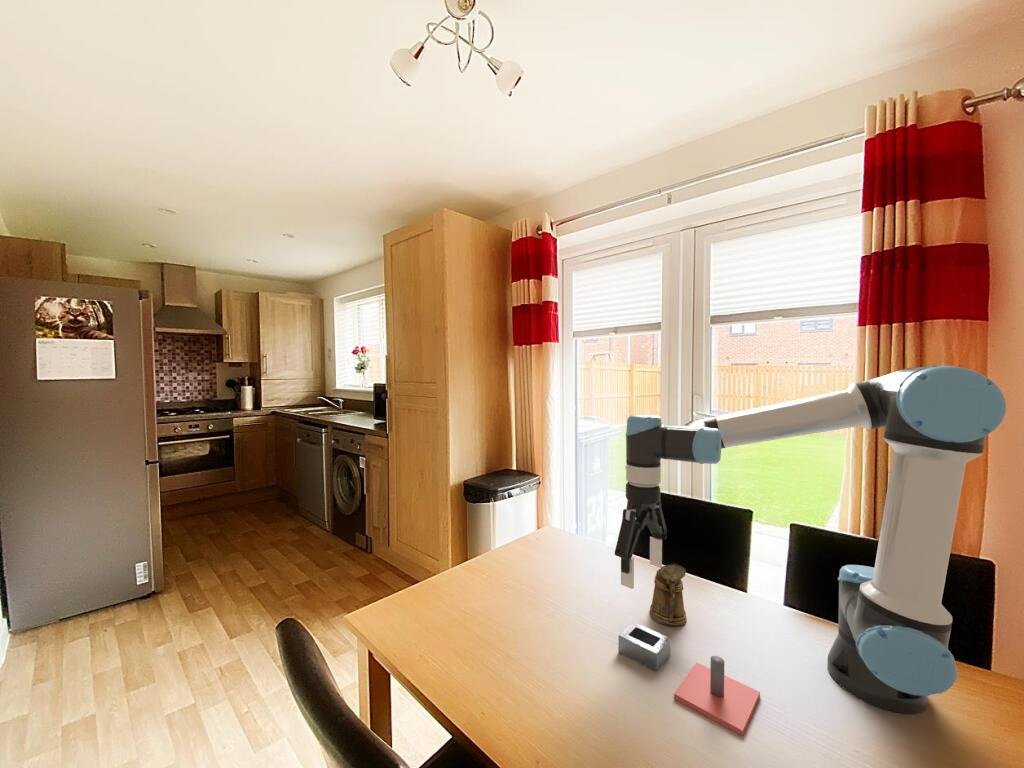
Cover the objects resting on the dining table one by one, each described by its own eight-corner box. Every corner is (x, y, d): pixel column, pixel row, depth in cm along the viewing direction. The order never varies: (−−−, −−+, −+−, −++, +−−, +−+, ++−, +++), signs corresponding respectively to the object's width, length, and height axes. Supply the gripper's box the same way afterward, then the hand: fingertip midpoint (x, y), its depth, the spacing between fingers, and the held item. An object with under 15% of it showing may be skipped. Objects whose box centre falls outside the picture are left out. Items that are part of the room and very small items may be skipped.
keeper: (759, 696, 80) (760, 659, 80) (742, 736, 71) (743, 694, 71) (696, 666, 88) (696, 632, 88) (674, 698, 79) (674, 660, 79)
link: (670, 655, 91) (670, 638, 91) (656, 672, 86) (656, 653, 86) (633, 637, 98) (633, 621, 98) (618, 652, 93) (618, 635, 92)
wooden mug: (653, 635, 99) (654, 561, 98) (647, 604, 112) (648, 539, 111) (693, 640, 97) (693, 565, 96) (682, 608, 110) (683, 542, 109)
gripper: (652, 470, 104) (651, 553, 105) (598, 490, 86) (597, 589, 87) (681, 476, 99) (681, 562, 99) (630, 498, 81) (629, 603, 82)
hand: (642, 575), depth 93 cm, fingers open, 13 cm apart
